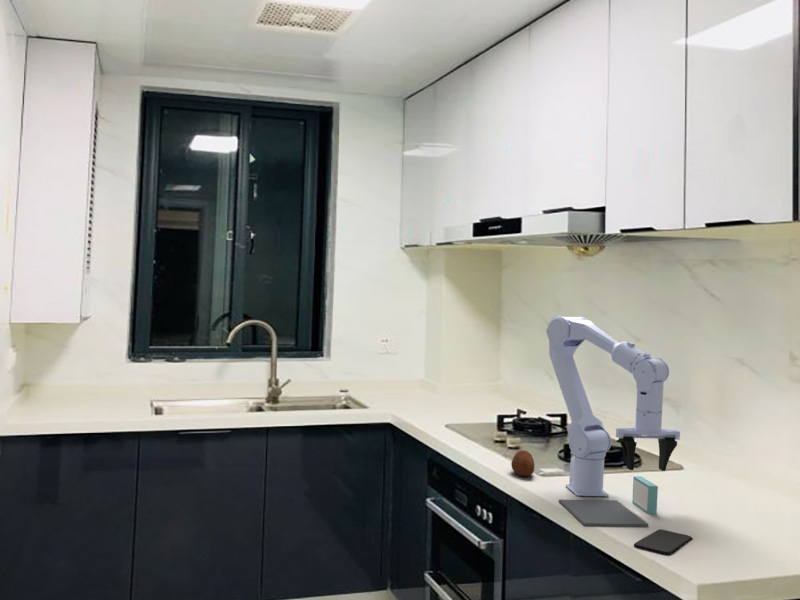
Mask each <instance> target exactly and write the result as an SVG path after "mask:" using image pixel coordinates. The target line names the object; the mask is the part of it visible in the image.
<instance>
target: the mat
mask: <svg viewBox="0 0 800 600" xmlns="http://www.w3.org/2000/svg"><path fill="white" fill-rule="evenodd" d="M558 503H559V504H560V505H562V507H563V508H565V509H566V511H568V513H569V514H571V515H572V516H573V517H574V518H575V519H576V520H577V521H578V522H579V523H580V524H581V525H582V526H583V527H625V528H627V527H628V528H629V527H630V528H631V527H635V528H639V527H640V528H649V523H648V522H647V521H645V520H644V519H643V518H641V517H640V516H638V515H637V514H636V513H635V512H633V511H631V510H630V509H629V508H628V507H626V506H625V505H624V504H622V503H621V502H620V501H618V500H614V499H612V500H608V499H607V500H606V499H603V500H601V499H558Z"/></svg>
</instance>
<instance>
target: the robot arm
mask: <svg viewBox="0 0 800 600" xmlns="http://www.w3.org/2000/svg"><path fill="white" fill-rule="evenodd" d="M545 333H546V335H547V338H548V342H549V343H548V344H549V345H548V346H549V348H548V350H549V353H548V354H549V359H550V361H551V364H552V367H553V369H554V370H553V371H554V373H555V376H556V379H557V382H558V385H559V389H560V391H561V394H562V397H563V399H564V402H565V406H566V409H567V412H568V414H569V417H570V420H571V422H570V424H569V425H568V427H567V430H566V431H567V434H568V445H569V446H568V447H569V449H570V451H571V453H572V457H571V459H570V463H569V481H568V482H569V483H566V484H565V487H566V488H567V489H568V490H570V491H571V492H572V493H573V494H574V495H576V496H577V497H582V496H583V497H609V495H610V494H609V493H607V492H606V491H605V490H604V475H605V473H604V470H605V457H606V455H607V452H608V451H609V450H610V449H611V446H612V437H611V435H610V433H609V431H607V430H606V428H605V427H604V425H603V422H602V421H601V420H600V419H599V418H598V417H596V415H594V414H593V410H592V407H591V405H590V402H589V400H588V396H587V393H586V390H585V388H584V384H583V381H582V378H581V375H580V373H579V370H578V368H577V365H576V361H575V360H574V359H575V358H574V355H575V352H576V351H577V349H578V348H580V347H581V345H582V344H583V342H585V341H588V342H589V343H591V344H593V345H594V346H596V347H598V348H600V349H601V350H604V351H605V352H606V353H608V354H610V355H611V360H612V362H613V363H615V364H616V365H618V366H619V367H620V368H622V369H624V370H625V371H626V372H629V373H630V374H632V376H633V378H634V381H635V382H636V405H635V407H636V409H635V426H634V427H625V428H624V427H623V428H622V427H621V428H618V427H617V428H616V429H615V437H616V438H618V442H619V443H620V446H621V447H622V451H623V453H624V457H625V461H626V463H625V464H626V468H627V470H629V471H634V468H635V453H636V449H637V444H638V443H637V441H635V439H657V441H658V450H659V451H658V452H659V453H658V454H659V455H658V469H659V470H660V471H662V472H666V470H667V466H668V463H669V460H670V457H671V456H672V453H673V452H674V450H675V449H676V447H677V446H678V441H680V440H681V439H680V438H681V431H679V430H677V429H668V428H667V429H666V428H665V429H664V428H662V421H663V420H662V418H663V405H664V404H663V403H664V402H663V401H664V400H663V399H664V382H665V381H667V379H668V378H669V375H670V368H669V366H668V364H667V363H666V362H665V361H664V360H663V359H662V358H660V357H654V358H652V357H651V354H650V353H649V352H644V351H642V350H641V349H639V348H638V347H636V343H635V342H633V341H620V342H619V341H617V340H616V339H614V338H613V337H611V336H610V335H609V334H608V333H606V332H605V331H603V329H601V328H599V327H598V326H597V325H595V324H594V322H593V321H591V320H589V319H587V318H586V317H584V316H561V315H558V316H557V315H556V316H554V317H553V318H552V319H551V320H550V322H549V323H548V326H547V328H546V330H545Z"/></svg>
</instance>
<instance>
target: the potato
mask: <svg viewBox="0 0 800 600" xmlns="http://www.w3.org/2000/svg"><path fill="white" fill-rule="evenodd" d="M510 467H511V469H512V471H513V472H514V473H515V474H517V476H520V477H529V476H530V477H531V476H532V475H533V474H534V471H535V460H534V458H533V456H532V454H531V452H529V451H527V450H524V449H522V450H518V451H517V452H515V454H514V455H513V458H512V459H511V466H510Z"/></svg>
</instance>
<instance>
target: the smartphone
mask: <svg viewBox="0 0 800 600" xmlns="http://www.w3.org/2000/svg"><path fill="white" fill-rule="evenodd" d="M693 539H694V538H693V536H691V535H687V534H683V533H678V532H675V531H672V530H671V531H670V530H666V529H657V530H655V531H653V532H652V533H650V534H648V535H646V536H645V537H643V538H641V539H639V540H638V541H636V542H635V543H634V544H633V547H634V548H636V549H638V550H641V551H642V550H643V551H646V552H651V553H654V554H659V555H662V556H672V555H673V554H675V553H677V552H678V551H679V550H680V549H681V548H683V547H685V545H687V544H688V543H690V542H691V541H692V540H693Z"/></svg>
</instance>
